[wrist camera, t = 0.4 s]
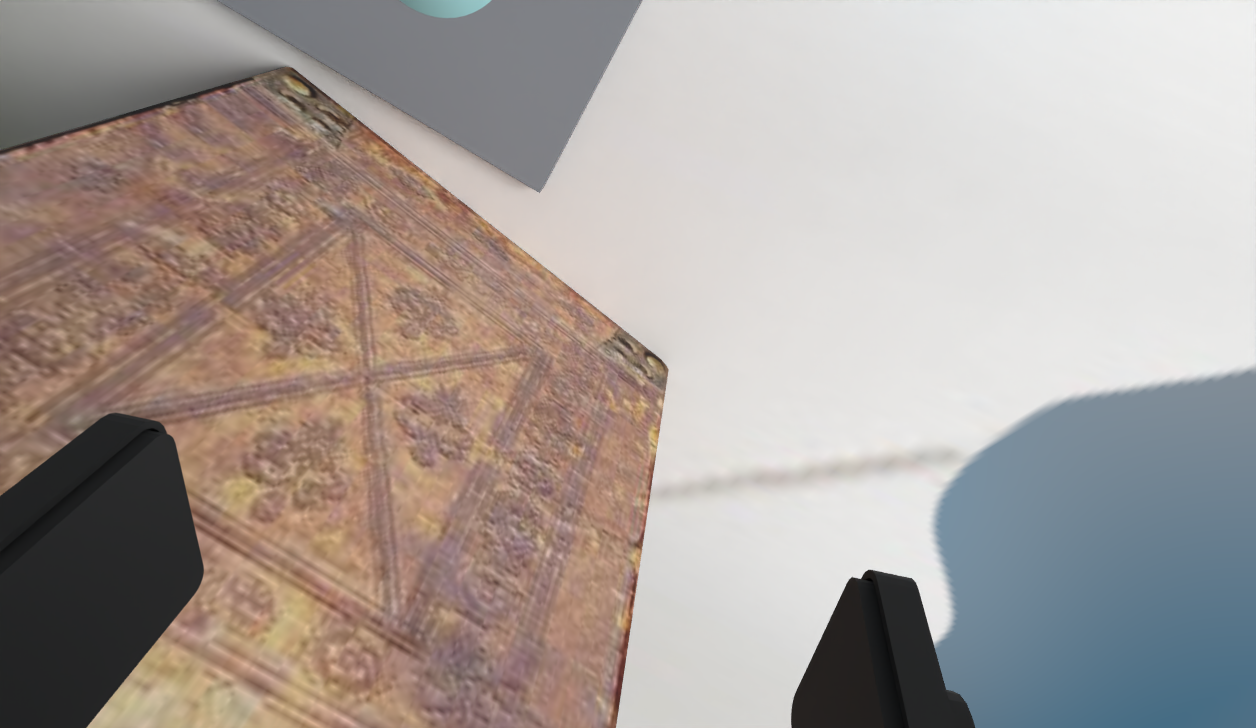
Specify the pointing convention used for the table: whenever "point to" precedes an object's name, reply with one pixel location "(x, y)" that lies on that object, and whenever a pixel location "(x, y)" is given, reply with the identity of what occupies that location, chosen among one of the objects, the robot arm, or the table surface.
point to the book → (333, 417)
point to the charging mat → (466, 64)
